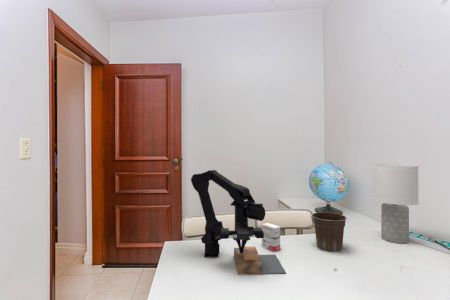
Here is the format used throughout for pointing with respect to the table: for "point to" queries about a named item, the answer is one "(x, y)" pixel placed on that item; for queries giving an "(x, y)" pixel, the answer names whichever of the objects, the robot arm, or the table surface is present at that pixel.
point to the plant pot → (329, 230)
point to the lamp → (395, 198)
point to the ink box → (271, 237)
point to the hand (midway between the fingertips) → (241, 253)
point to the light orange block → (250, 253)
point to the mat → (271, 265)
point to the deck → (247, 264)
